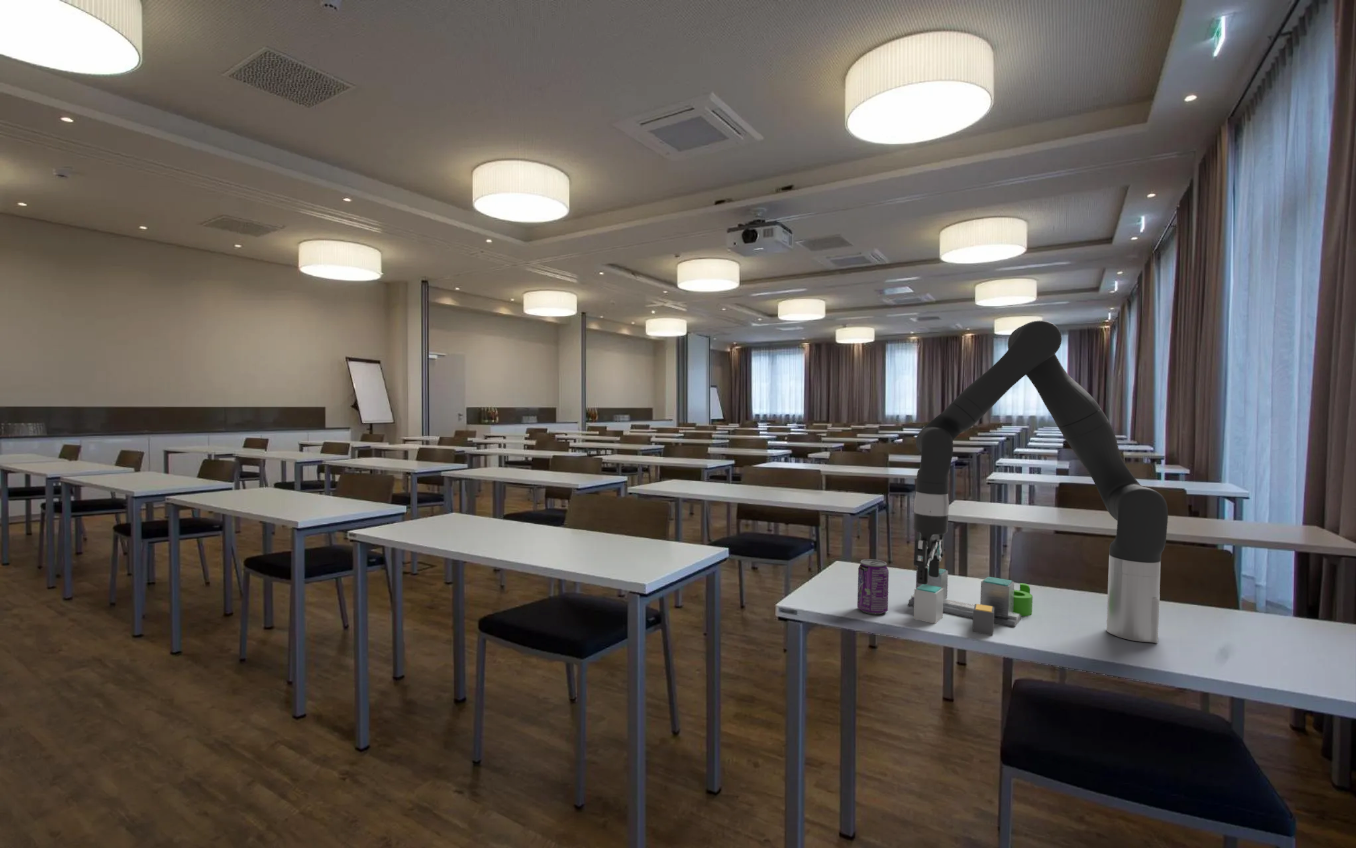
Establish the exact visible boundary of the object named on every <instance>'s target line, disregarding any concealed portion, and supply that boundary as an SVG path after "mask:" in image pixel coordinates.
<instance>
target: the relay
mask: <svg viewBox="0 0 1356 848" xmlns="http://www.w3.org/2000/svg"><path fill="white" fill-rule="evenodd" d="M974 605H975V606H974V610H973V618H972V633H977V634H980V635H987V636H988V635H989V636H994V630H995V623H994V607H992V606H987V605H980V604H979V603H975V604H974Z"/></svg>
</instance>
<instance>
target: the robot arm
mask: <svg viewBox="0 0 1356 848" xmlns="http://www.w3.org/2000/svg"><path fill="white" fill-rule="evenodd" d="M1062 340H1063V339H1062V333H1061V330H1060V328H1059V327H1058V326H1057V325H1056V324H1055V323H1052V322H1050V321H1048V320H1039V319H1038V320H1032V321H1029V322H1027V323H1025V324H1023V325H1021V326H1019V327H1017V328H1015V330H1013V331H1012V332H1011V333H1010V335H1009V338H1008V341H1007V349H1008V350H1006V351H1005V353H1004V354H1003V355H1002V357H1000V359H998V360H997V362H995V363H994V364H993V366H991V367H990V368H989V369H988V370H986V371H985V372H984V373H983V374H982V375H981V376H979V377H978V378H977V379H975V380H974V381H973V382H972V383H970V384H969V385H968V386H967V387H966V388H965V389H963V391H962V392H961V393H960V394H959V395H958V396H957V397H955V398H954V400H953V401H952V402H951V403H950V404H948V406H947V407H946V408H945V409H944V410H943V411H942V412H941V413H940V414H939V415H937V416H936V417H934V418H933V419H932V420H931V421H930V422H928V423H927V424H926V425H925V426H924V427H923V428H921V430H920V431H919V432H918V434H917V436H916V438H915V445H916V448H917V450H918V452H920V468H918V470H917V473H916V483H915V484H916V485H915V496H914V502H913V503H914V504H913V505H914V507H913V530H914V531H915V532H917V533H920V538H919V539H915V540H914V555H913V566H916V568H917V570H918V571H917V570H916V571H917V582H918V583H919V584H927V583H928V567H929V576H931V577H938V576H939V568H940V565H941V564H940V562H941V561H942V558H943V557H944V554H945V553H944V549H945V548H944V547H945V546H944V545H945V543H944V542H945V534H947V533H948V529H949V510H950V509H949V507H950V505H949V504H950V502H949V482H950V481H949V478H950V477H949V475H950V470H951V464H952V459H953V455H954V453H953V452H954V440H955V439H956V438H957V437H958V436H959V435H960V434H962V433H963V432H965V431H969V429H971V428H972V427H973V426H974V425H975V424H976V423H977V422H978V421H980V419H982V417H984V415H985V414H987V413H988V412H989V411H990V409H991V408H992V407H994V405H995V404H996V403H997V402H998V401H999V400H1000V399H1001V398H1002V397H1003V396H1004V395H1005V394H1006V393H1007V392H1008V391H1009V390H1011V388H1013V386H1015V384H1017V383H1018V382H1019V381H1020V380H1021V379H1022V378H1023V377H1027V378H1028V379H1029V381H1030V382H1031V383H1032V385H1033V386H1034V388H1035V389H1036V391H1037V393H1038V394H1039V397H1040V398H1041V400H1042V402H1043V404H1044V406H1045V407H1046V408H1047V410H1048V412H1049V414H1050V415H1051V418H1052V419H1053V421H1054V422H1055V424H1056V427H1057V428H1058V430H1059V431H1060V433H1061V434H1062V436H1063V438H1064V439H1065V441H1066V442H1067V443H1068V445H1069V447H1070V448H1071V450H1072V451H1073V453H1074V454H1075V456H1076V457H1077V459H1078V460H1079V461H1080V463H1081V464H1082V465H1083V466H1084V468H1085V469H1086V471H1087V472H1088V474H1089V476H1090V478H1091V479H1092V480H1093V483H1094V485H1095V487H1096V489H1097V491H1098V493H1099V495H1100V498H1101V500H1102V503H1103V504H1104V506H1105V508H1106V510H1107V512H1108V513H1109V515H1110V516H1111V517H1112V518H1113V519H1114V520H1115V521H1117V522H1116V535H1115V537H1114V540H1113V541H1111V542H1110V544H1109V549H1108V552H1109V553H1108V554H1109V555H1108V577H1107V578H1108V579H1107V580H1108V581H1107V602H1106V603H1107V605H1106V609H1107V610H1106V631H1107V633H1109V634H1111V635H1113V636H1116V637H1118V638H1121V639H1125V640H1128V641H1134V642H1141V643H1142V642H1143V643H1154V644H1158V643H1159V642H1158V641H1159V627H1160V626H1159V625H1160V598H1161V596H1160V595H1161V594H1160V593H1161V592H1160V590H1161V589H1160V588H1161V586H1160V585H1161V562H1162V554H1163V552H1164V550H1165V547H1166V542H1167V535H1168V534H1167V533H1168V522H1169V521H1168V520H1169V511H1168V510H1169V509H1168V504H1167V501H1166V499H1165V497H1164V495H1162V494H1161V493H1160V492H1158V491H1157V490H1155V489H1152V488H1150V487H1148V486H1147V487H1145V486H1143V485H1141V483H1140V482H1139V481H1138V480H1137V479H1136V478H1135V476H1134V475H1133V474H1132V472H1131V471H1130V469H1129V468H1128V466H1127V465H1126V463H1125V462H1124V460H1123V458H1122V455H1121V453H1120V449H1119V445H1118V440H1117V436H1116V434H1115V431H1114V429H1113V426H1112V423H1110V421H1109V419H1108V417H1107V416H1106V414H1105V412H1104V411H1103V409H1102V408H1101V406H1100V405H1099V403H1098V402H1097V400H1095V398H1094V397H1093V396H1092V395H1091V394H1090V393H1089V392H1088V391H1087V390H1086V389H1085V388H1084V387H1082V385H1080V383H1078V382H1077V381H1075V380H1074V378H1072V377H1071V376H1070V374H1068V373H1067V370H1065V369H1064V367H1063V366H1062V363H1061V362H1060V360H1059V359H1058V357H1057V354H1056V353H1057V352H1058V350H1059V349H1060V348H1061V347H1060V346H1061V345H1062Z"/></svg>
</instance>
